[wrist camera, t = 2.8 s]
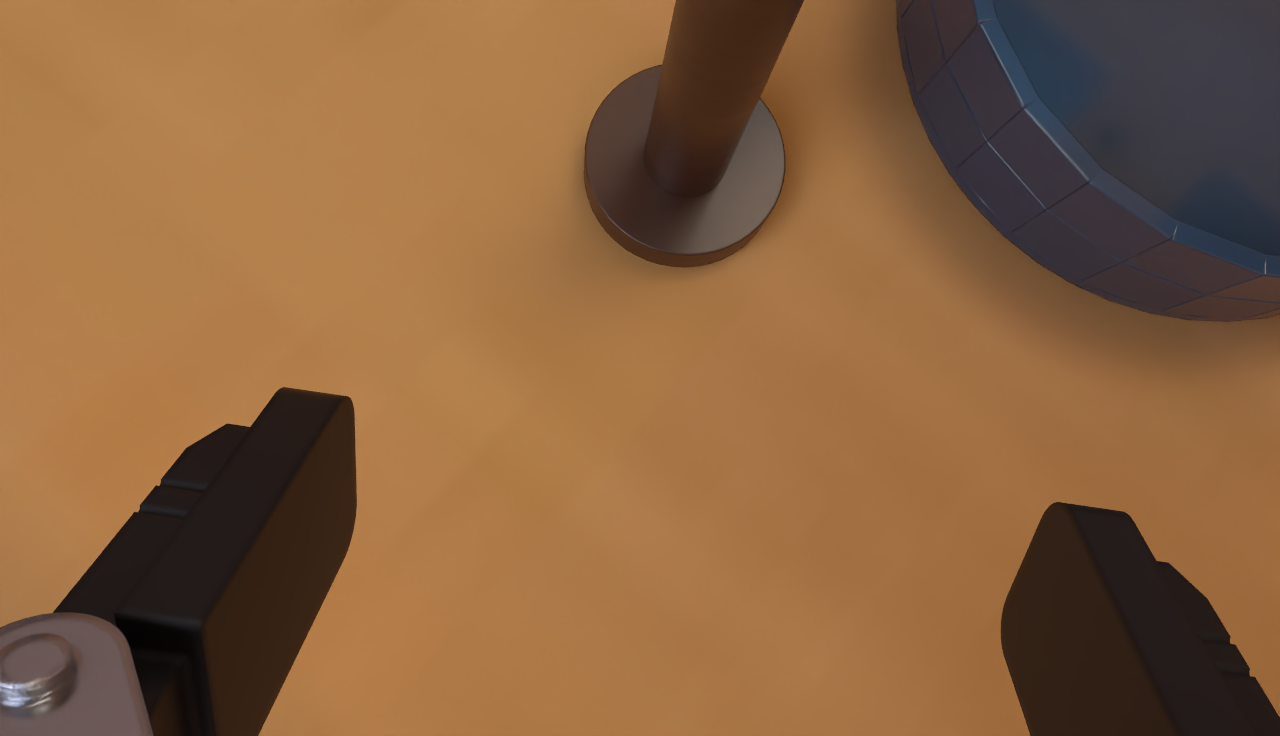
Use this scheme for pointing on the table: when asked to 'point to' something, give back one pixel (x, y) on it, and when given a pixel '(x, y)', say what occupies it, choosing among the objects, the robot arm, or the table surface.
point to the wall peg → (693, 137)
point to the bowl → (1115, 140)
